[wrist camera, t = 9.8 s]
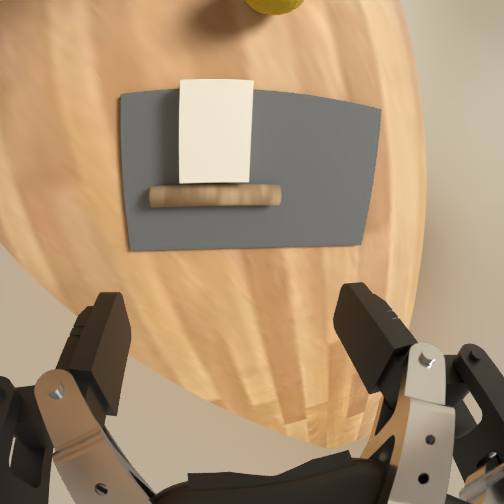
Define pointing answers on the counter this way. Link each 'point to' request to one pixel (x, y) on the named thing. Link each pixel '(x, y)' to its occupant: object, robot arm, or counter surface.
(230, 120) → the tile
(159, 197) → the dowel
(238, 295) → the counter surface
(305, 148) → the mat
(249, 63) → the counter surface
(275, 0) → the lemon
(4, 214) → the counter surface
